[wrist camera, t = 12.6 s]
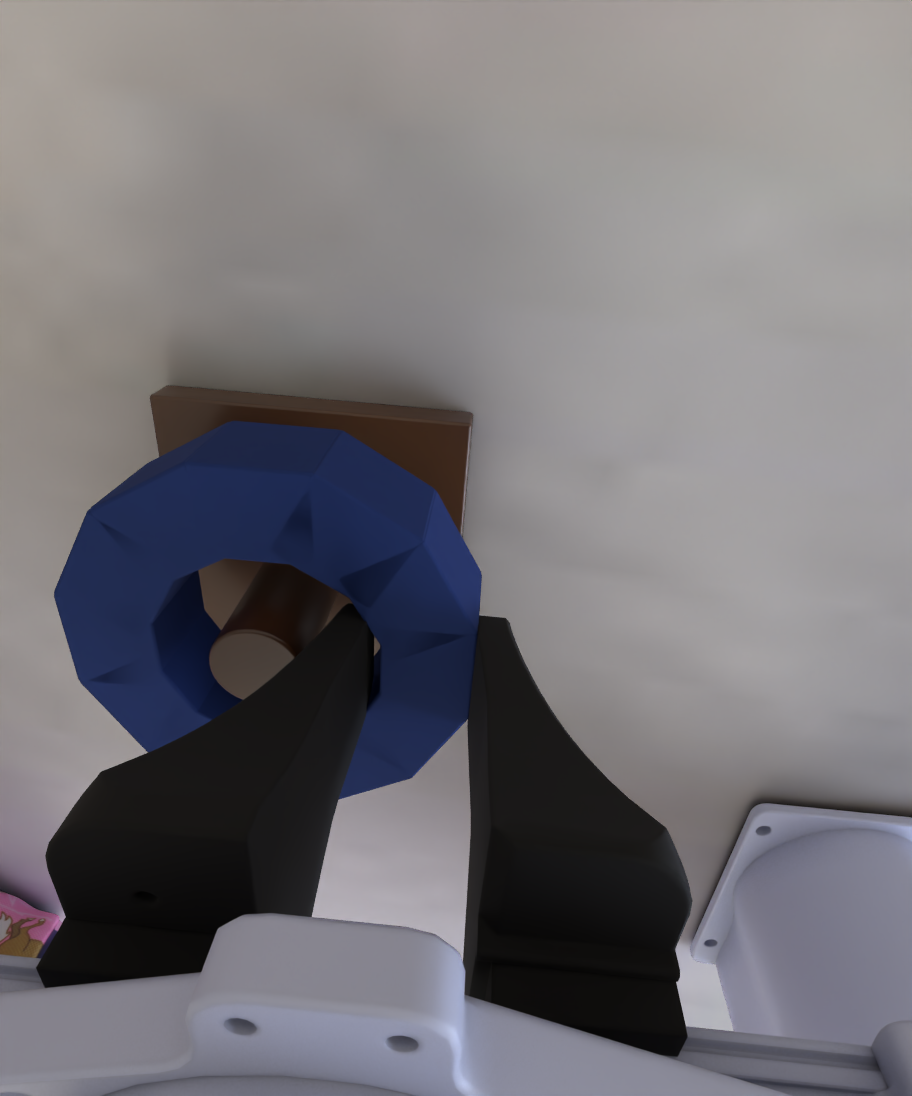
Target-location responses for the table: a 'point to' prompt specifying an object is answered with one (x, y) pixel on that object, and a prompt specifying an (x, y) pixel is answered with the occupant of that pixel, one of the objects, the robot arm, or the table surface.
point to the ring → (287, 538)
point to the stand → (281, 589)
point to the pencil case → (25, 928)
